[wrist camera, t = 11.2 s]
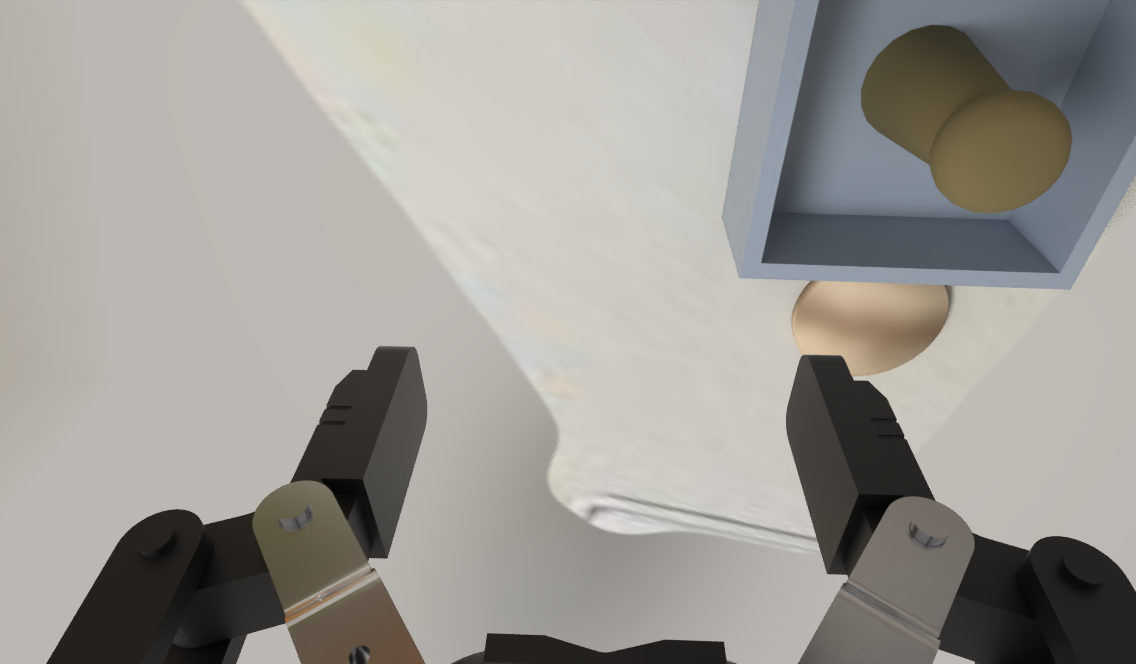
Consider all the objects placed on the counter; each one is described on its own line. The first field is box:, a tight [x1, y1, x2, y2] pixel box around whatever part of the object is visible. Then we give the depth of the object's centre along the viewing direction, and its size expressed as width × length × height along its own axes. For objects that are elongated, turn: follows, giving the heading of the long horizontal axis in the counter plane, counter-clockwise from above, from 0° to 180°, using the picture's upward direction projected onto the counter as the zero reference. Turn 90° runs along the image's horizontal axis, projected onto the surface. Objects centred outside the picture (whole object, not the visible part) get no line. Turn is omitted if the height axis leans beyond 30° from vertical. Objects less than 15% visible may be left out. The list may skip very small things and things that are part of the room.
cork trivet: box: [792, 281, 949, 376], centre depth 46 cm, size 10×10×1 cm
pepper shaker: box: [861, 25, 1073, 213], centre depth 32 cm, size 6×6×11 cm
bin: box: [722, 0, 1136, 290], centre depth 34 cm, size 18×18×7 cm
